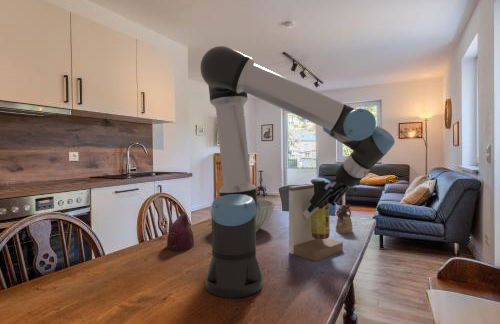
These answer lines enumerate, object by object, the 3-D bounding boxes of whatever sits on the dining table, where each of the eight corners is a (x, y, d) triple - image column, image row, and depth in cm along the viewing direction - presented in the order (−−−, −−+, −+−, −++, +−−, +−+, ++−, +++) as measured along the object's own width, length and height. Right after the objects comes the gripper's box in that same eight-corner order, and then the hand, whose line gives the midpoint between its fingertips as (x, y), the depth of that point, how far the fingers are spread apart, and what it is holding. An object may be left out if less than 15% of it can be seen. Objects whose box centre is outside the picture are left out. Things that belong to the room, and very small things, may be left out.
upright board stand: (314, 261, 96) (313, 189, 95) (288, 253, 104) (288, 187, 103) (343, 250, 106) (343, 185, 106) (318, 243, 115) (317, 183, 114)
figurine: (337, 228, 137) (337, 202, 136) (353, 230, 134) (353, 203, 133) (334, 232, 130) (334, 205, 130) (351, 234, 127) (351, 206, 127)
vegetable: (197, 254, 113) (207, 217, 112) (174, 258, 106) (184, 218, 104) (183, 241, 120) (191, 206, 119) (160, 244, 113) (169, 207, 111)
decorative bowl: (283, 235, 126) (283, 207, 126) (220, 240, 119) (219, 210, 119) (264, 221, 152) (264, 197, 152) (212, 225, 145) (211, 200, 145)
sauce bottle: (330, 240, 100) (329, 181, 100) (311, 239, 102) (310, 181, 101) (329, 234, 107) (328, 179, 106) (311, 234, 108) (310, 179, 107)
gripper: (342, 181, 86) (299, 228, 99) (375, 177, 98) (333, 218, 111) (326, 163, 90) (287, 210, 103) (360, 160, 102) (321, 203, 115)
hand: (311, 214), depth 107 cm, fingers closed on sauce bottle, 6 cm apart
